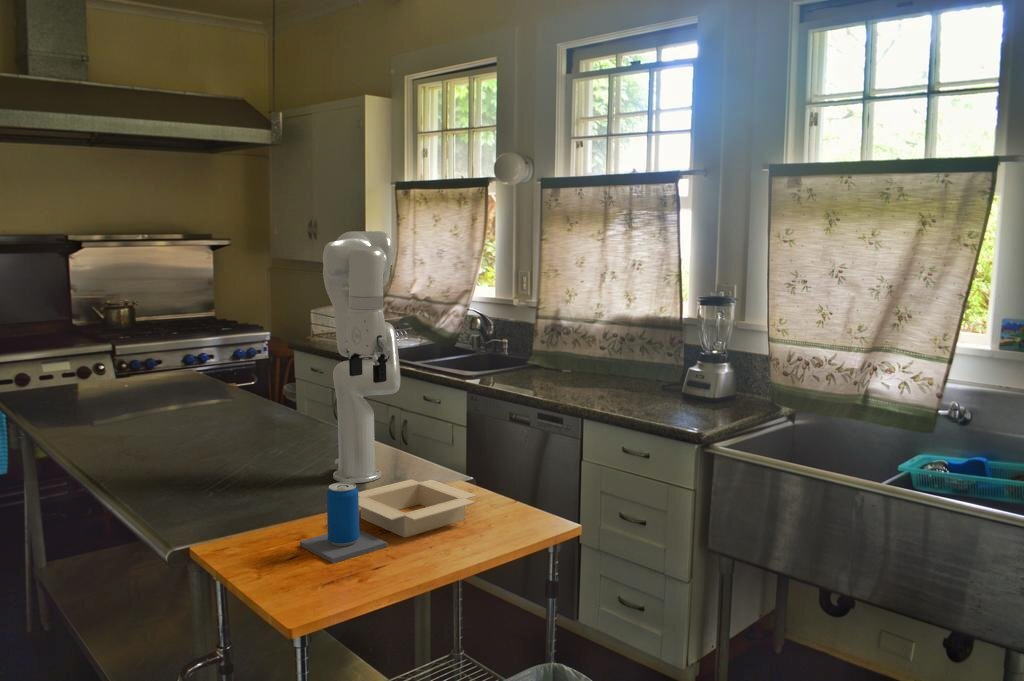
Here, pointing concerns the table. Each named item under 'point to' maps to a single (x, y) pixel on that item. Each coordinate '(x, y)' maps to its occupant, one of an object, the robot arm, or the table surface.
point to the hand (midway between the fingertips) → (367, 378)
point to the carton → (436, 496)
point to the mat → (342, 547)
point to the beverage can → (343, 513)
